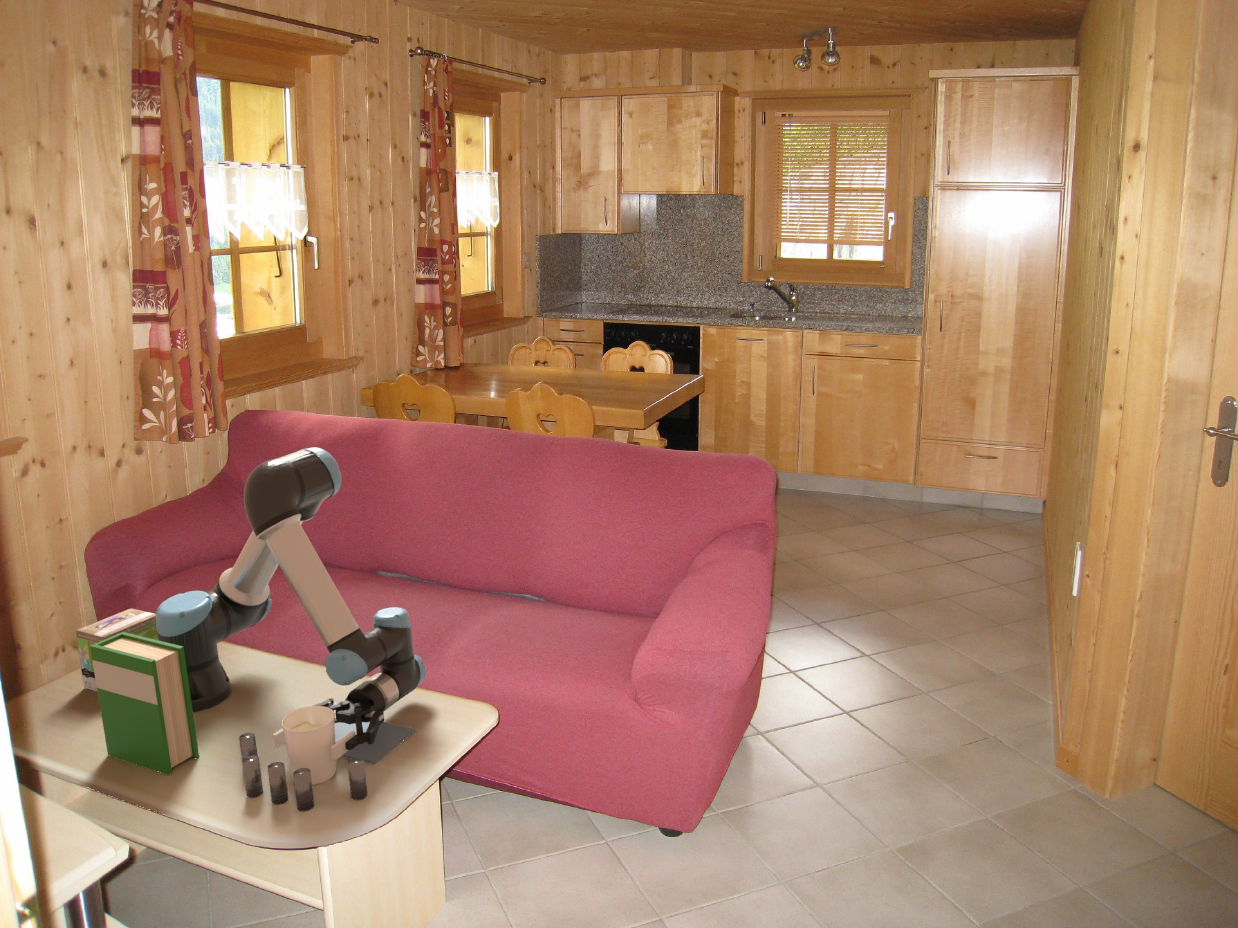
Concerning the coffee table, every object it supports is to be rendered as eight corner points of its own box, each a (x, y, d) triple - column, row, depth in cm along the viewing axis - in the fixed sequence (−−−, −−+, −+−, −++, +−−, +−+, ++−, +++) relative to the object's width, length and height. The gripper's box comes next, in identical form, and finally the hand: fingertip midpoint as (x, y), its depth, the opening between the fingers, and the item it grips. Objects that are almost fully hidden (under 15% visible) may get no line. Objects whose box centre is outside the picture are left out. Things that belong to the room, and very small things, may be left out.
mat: (301, 747, 204) (301, 744, 204) (345, 716, 216) (345, 713, 216) (374, 764, 197) (374, 761, 197) (415, 731, 209) (415, 728, 209)
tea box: (113, 696, 228) (103, 636, 225) (83, 688, 232) (73, 629, 229) (167, 669, 241) (159, 612, 238) (138, 662, 246) (129, 606, 242)
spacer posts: (214, 788, 190) (210, 754, 188) (250, 763, 199) (246, 731, 197) (337, 820, 179) (334, 785, 177) (370, 792, 187) (367, 759, 186)
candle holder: (294, 762, 199) (287, 706, 196) (344, 758, 199) (339, 703, 196) (282, 789, 189) (275, 732, 186) (335, 786, 190) (329, 728, 187)
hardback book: (199, 756, 202) (183, 646, 196) (168, 775, 195) (151, 661, 189) (139, 738, 209) (123, 631, 204) (108, 755, 203) (89, 645, 197)
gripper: (423, 724, 205) (358, 777, 187) (325, 704, 215) (254, 753, 196) (420, 691, 204) (355, 741, 185) (322, 672, 213) (250, 718, 194)
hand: (303, 747), depth 190 cm, fingers open, 13 cm apart
